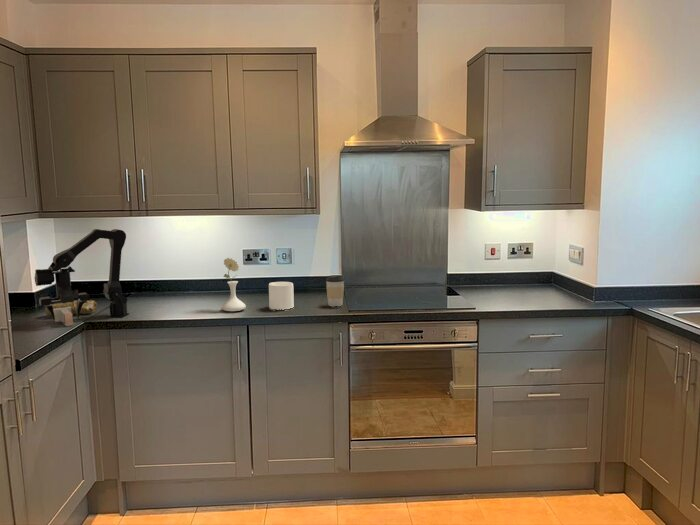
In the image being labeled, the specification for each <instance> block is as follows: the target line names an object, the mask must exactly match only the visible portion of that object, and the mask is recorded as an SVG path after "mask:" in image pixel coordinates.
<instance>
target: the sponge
mask: <svg viewBox="0 0 700 525" xmlns="http://www.w3.org/2000/svg"><path fill="white" fill-rule="evenodd" d="M51 305H52V306H53V309H57V308H65V307H71V310H72V316H73V315H77V300H74V302H66V303H61V302H56V303H53V304H52V303H51ZM97 306H98V304H97V302H96V301H95V300H92V299H91V300H89V301H86V303H84V304H83V305H82V307H81V310H80V314H79V315H81V314H84V315H86V314H87V315H88V314H93V313H95V312H96V311H97V310H96V309H97ZM45 314H46V315H47V316H48V317H52V316H51V314H50V312H49V310H48V308H47V307H46V308H45Z"/></svg>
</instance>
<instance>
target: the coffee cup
mask: <svg viewBox="0 0 700 525" xmlns="http://www.w3.org/2000/svg"><path fill="white" fill-rule="evenodd" d="M325 282H326V286H325V287H326V295H327V302H328V303H327V305H329V306H341V305H342V306H343V302H344V300H343V298H344V293H345V292H344V291H345V290H344V289H345V283H344V282H345V278H344V277H343V276H342V275H339V274H337V275H336V274H335V275H328V276H327V277H326V280H325ZM329 306H328V307H329ZM342 306H341V307H342Z"/></svg>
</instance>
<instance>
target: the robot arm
mask: <svg viewBox="0 0 700 525" xmlns="http://www.w3.org/2000/svg"><path fill="white" fill-rule="evenodd" d="M99 239H105V240H108V241H109V246H110V247H109V248H110V260H109V275H108V276H109V277H108V281H107V283H103V290H102V293H104V296H105V298H106V299H108V300H109V302H110V303H109V305H110V306H109V315H108V318H123V317H126V316H129V315H130V313H129V312H128V305H127V302H128V301H129V300H128V298H127V297H126V296H124V295H123V294H122V291H123V290H122V285H121V283H120V278H121V276H120V275H121V264H122V251H123V247H124V246H125V243H126V239H127V234H126V232H125V231H124V230H122V229H119V228H118V229H117V228H114V229H111V230H108V229H107V230H105V229H98V228H94V229H92V231H91V232H89V233H88V234H87V235H86V236H84V237H82V238H81V239H80V240H79V241H77V242H76V243H74V244H73V245H72V246H70V247H69V248H67V249H64V250H62V251H59V252H58V253H56V254H54V256H53V257H52V262H51V264H50V265H49V266H48V268H43V269H40V268H38V269H35V273H34V284H35V286H36V287H38V286H48V285H52V284H53V283H54V282H55V289H56V290H55V292H56V297H50V296H43V297H41V296H40V297H39V299H38V304H39V305H40V307H44V308H45V309H46V308H48V310H49V312H50V314H51V316H50V317H51V318H52V320H53V321H54V320H55V316H54V311H53V306H52V303H53V304H55V303H68V302H74V301H76V300H77V314H76V317H77V318H79V317H80V315H81V314H80V310H81V307H82V305H83V304H84V303H86V301H89V300H90V299H91V298H90V295H89V294H88V293H87V292H80V293H79V290H78V289H72V283H71V282H72V281H71V273H75V272H76V270H75V269H74V268H72V267H71V263H73V262H74V261H75V259H76V258H77V256H78V255H80V254H81V253H82V252H84V251H85V250H86V249H87V248H89V247H90V246H91V245H92V244H94V243H96V242H97V241H98V240H99Z"/></svg>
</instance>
